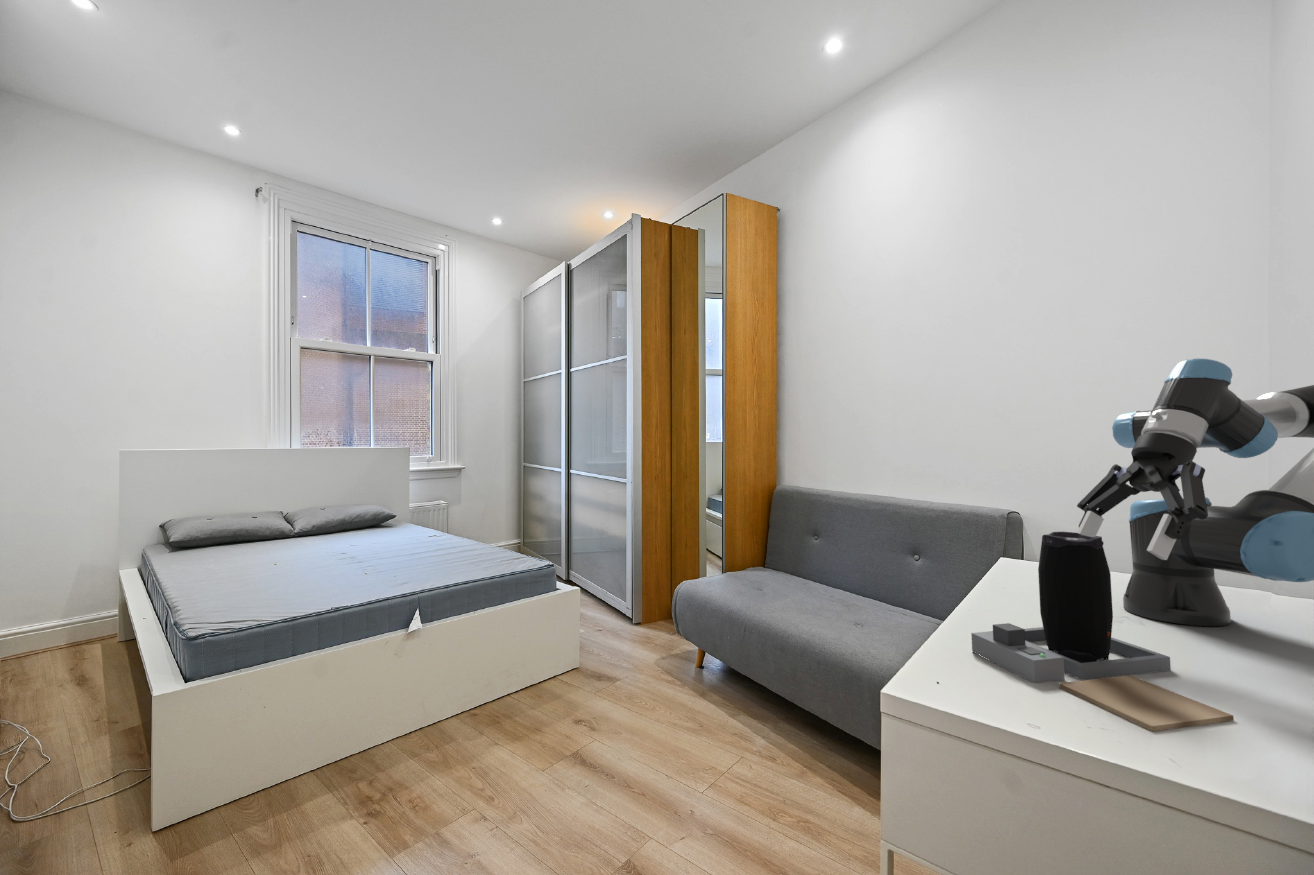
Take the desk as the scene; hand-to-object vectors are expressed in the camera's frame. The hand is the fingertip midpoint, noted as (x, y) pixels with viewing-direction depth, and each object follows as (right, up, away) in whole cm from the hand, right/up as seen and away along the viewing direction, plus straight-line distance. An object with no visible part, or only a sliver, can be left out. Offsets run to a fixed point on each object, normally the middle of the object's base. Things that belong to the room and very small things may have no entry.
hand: (1115, 550), depth 87 cm
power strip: (-20, -17, -5) cm, 26 cm away
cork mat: (-12, -16, -17) cm, 27 cm away
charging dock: (-9, -17, -2) cm, 19 cm away
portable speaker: (-7, -17, -2) cm, 19 cm away
